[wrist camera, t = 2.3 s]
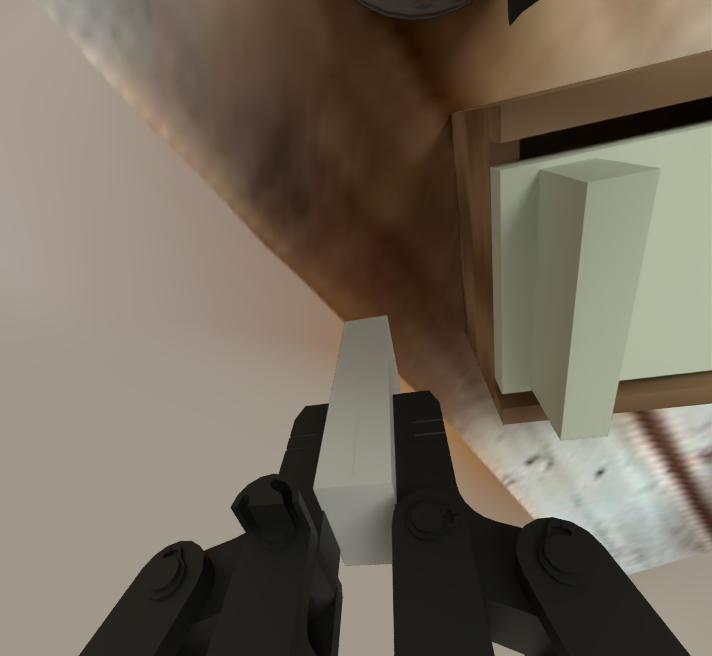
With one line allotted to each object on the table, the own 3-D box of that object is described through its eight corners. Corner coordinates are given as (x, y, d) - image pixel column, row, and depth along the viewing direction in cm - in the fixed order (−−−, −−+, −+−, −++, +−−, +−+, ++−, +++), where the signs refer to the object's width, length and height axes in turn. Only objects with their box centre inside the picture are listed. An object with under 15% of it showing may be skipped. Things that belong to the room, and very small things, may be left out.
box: (451, 112, 17) (500, 105, 10) (751, 40, 15) (1078, -34, 8) (466, 332, 24) (503, 424, 17) (681, 302, 22) (831, 391, 14)
